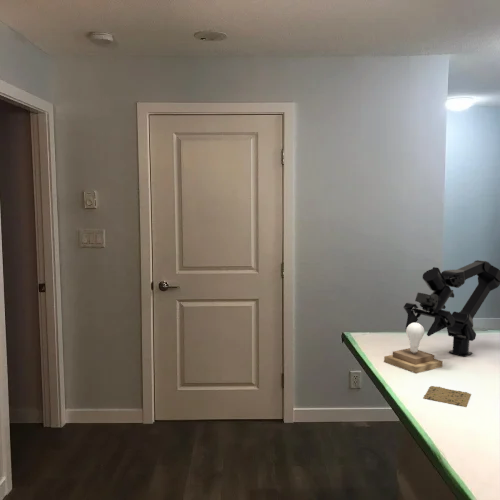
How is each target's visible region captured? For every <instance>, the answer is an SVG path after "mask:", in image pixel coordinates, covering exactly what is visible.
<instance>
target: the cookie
mask: <svg viewBox="0 0 500 500" xmlns="http://www.w3.org/2000/svg"><path fill="white" fill-rule="evenodd" d="M471 396H472V393H469V392H468V391H467V392H466V391H461V390H457V389H456V390H454V389H449V388H445V387H441V386H434V385H431V386H429V387H428V389H427V391H426V392H425V394H424V395H423V398H422V399H424V400H429V401H432V402H438V403H442V404H443V403H444V404H448V405H453V406H459V407H463V408H467V406H469V405H468V404H469V401H470V400H471Z"/></svg>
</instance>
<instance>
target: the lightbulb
mask: <svg viewBox="0 0 500 500" xmlns="http://www.w3.org/2000/svg"><path fill="white" fill-rule="evenodd" d="M405 330H406V331H405V332H406V335H407V337H408V340H409V341H408V342H409V348H410V351H411V352H412V353H416V352H418V350H419V346H420V342H421V341H422V339H423V337H424V336H425V328H424V326H423V325H422V324H421V323H419V322H416V323H411V324H409V325H408V327H407V329H406V328H405Z"/></svg>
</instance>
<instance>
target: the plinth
mask: <svg viewBox="0 0 500 500" xmlns="http://www.w3.org/2000/svg"><path fill="white" fill-rule="evenodd" d="M383 357H384V358H383V363H386V364H388V365H389V364H390V365H391V366H395V367H397V368H399V369H403V370H405V371H408V372H412V373H414V374H419V373H424V372H425V371H426V372H427V371H431V370H434V369H439V368H442V367H443V360H441V359H436V358H435V354H432V353H429V352H426V351H423V350H420V349H418V352H416V353H412V352H411V351H410V347H409V348H404V349H399V350H394V351H392V354H391V355H390V354H389V355H385V356H383Z"/></svg>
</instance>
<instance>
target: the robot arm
mask: <svg viewBox="0 0 500 500" xmlns="http://www.w3.org/2000/svg"><path fill="white" fill-rule="evenodd" d="M475 276H477V283H478V284H477V286H475V289H474V290H473V292H472V293H471V295H470V297H469V298H468V300H467V301H466V303H465V304H464V305H463V307H462V309H461V311H459V312H458V311H453V312H452V313H451V311H449V310H446V303H447V301H448V300H449V298H455V293H454V290H453V289H452V288H456V289H458V288H460V287H462V286H463V285H464V284H465V283H466V280H469V279H470V278H473V277H475ZM422 280H423V281H424V282H425V284H426V285H427V287H428V288H429V290H430V291H432V293H430V294H427V293H423V292H417V294H416V296H415V299H414V301H415V302H418V303H419V306H420V307H421V308H419V306H418V305H417V303H412V302H406V303H404V305H403V310H404V311H405V313H406V314H407V320H406V324H405V330H406V329H407V327H408V325H409V324H411V323H418V321H419V318H420V317H421V315H422V316H426V317H429V318H433V319H434V321H433V323H432V324H431V326H430V327H429V329H428V330H427V333H426V335H427V337H431V336H432V335H434V334H435V333H437V332H440V331H441V330H443V329H446V330H447V336H448V337H453V339H452V350H449V351H448V353H449V354H453V355H457V356H460V357H461V356H462V357H467V356H471V355H472V354H473V352H472V351H470V341H471V342H473V341H475V339H476V336H477V333H476V332H475V330H474V317H475V316H476V315H477V313H478V311H479V310H480V308H481V307H482V305H483V303H484V302H485V300H486V298H487V297H488V295H489V294H490V292H491V291H493V290H495V289H498V288H499V286H500V268H498V267H496V266H494V265H492V264H491V263H490V262H489V261H486V260H481V259H480V260H478V259H477V260H474V261H473V262H472V263H469V264H467V265H464V266H463V267H460V268H457V269H445V270H443V271H441V270H440V268H439V267H435V266H434V267H432V268H431V269H428V270H426V271H425V272H423V274H422Z"/></svg>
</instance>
